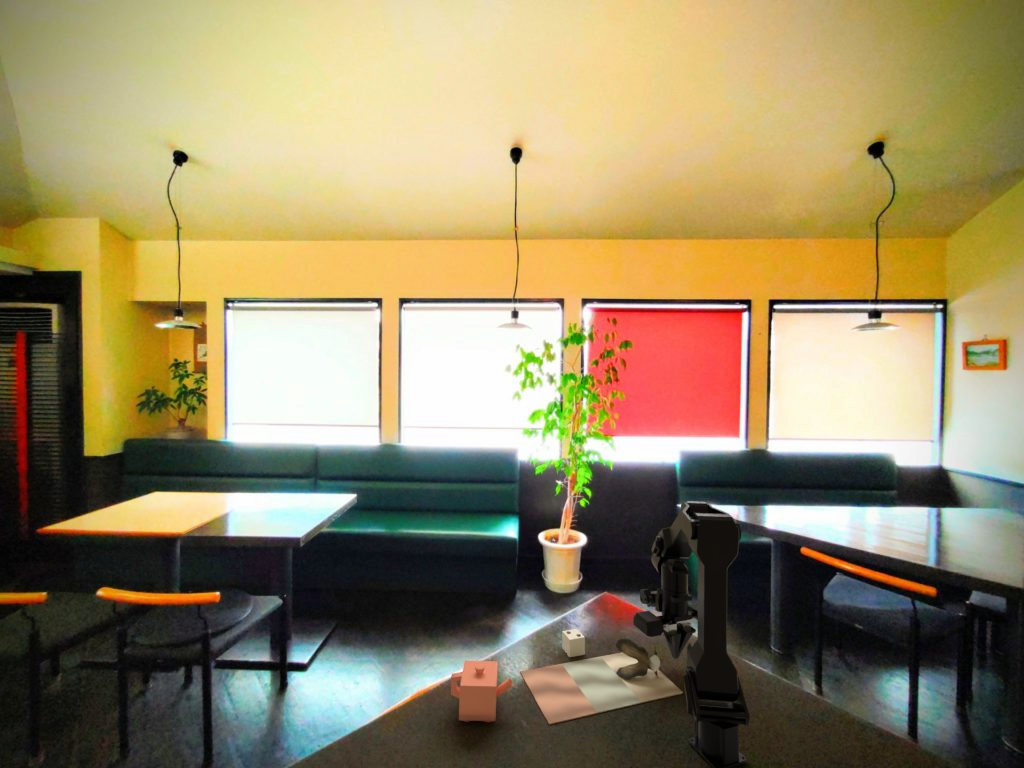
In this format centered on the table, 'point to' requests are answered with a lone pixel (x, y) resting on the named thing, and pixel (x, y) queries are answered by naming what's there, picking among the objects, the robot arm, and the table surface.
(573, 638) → the die
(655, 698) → the game mat
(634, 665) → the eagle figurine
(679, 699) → the table surface
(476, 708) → the pink cube teapot
